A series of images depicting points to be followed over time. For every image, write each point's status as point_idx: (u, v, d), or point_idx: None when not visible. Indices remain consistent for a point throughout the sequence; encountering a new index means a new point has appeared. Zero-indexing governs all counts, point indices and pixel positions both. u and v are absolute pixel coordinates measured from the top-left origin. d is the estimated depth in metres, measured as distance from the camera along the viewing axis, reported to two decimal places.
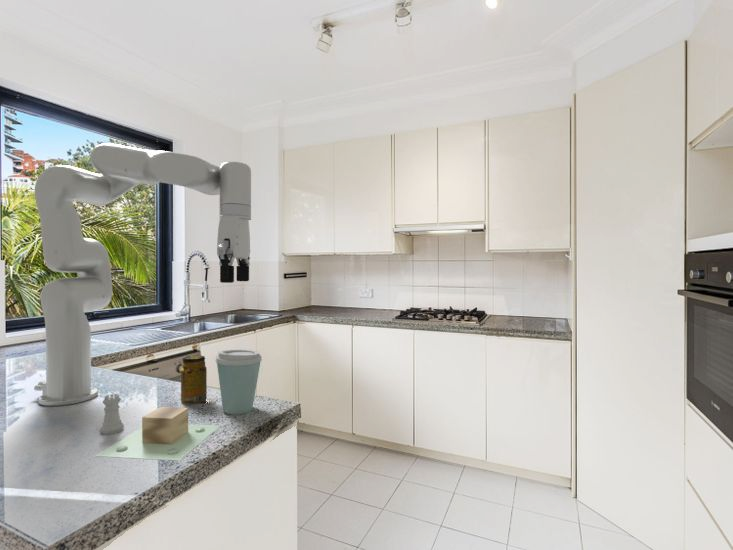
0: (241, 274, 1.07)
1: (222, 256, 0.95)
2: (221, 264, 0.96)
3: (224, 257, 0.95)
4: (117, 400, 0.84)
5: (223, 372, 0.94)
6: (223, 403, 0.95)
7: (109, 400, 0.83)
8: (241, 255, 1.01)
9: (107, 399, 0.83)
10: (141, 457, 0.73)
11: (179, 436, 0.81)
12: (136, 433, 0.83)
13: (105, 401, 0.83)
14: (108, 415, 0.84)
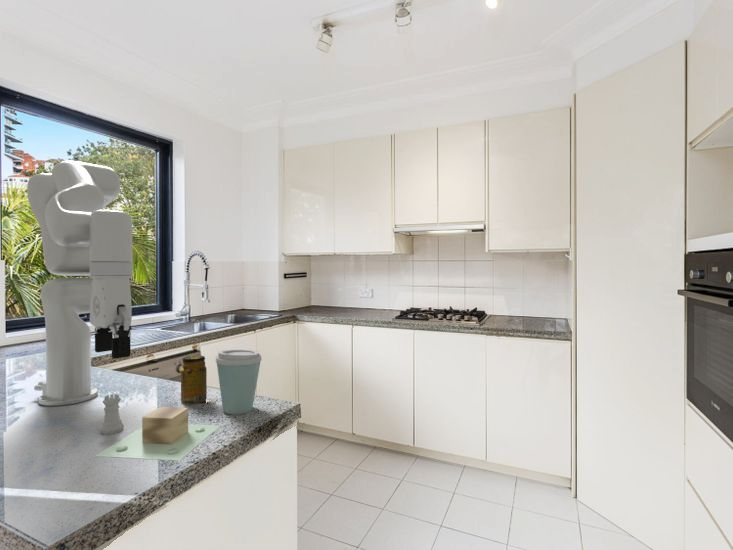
0: (103, 343, 0.87)
1: (127, 327, 0.79)
2: (119, 336, 0.80)
3: (129, 328, 0.80)
4: (117, 400, 0.84)
5: (223, 372, 0.94)
6: (223, 403, 0.95)
7: (109, 400, 0.83)
8: None
9: (107, 399, 0.83)
10: (141, 457, 0.73)
11: (179, 436, 0.81)
12: (136, 433, 0.83)
13: (105, 401, 0.83)
14: (108, 415, 0.84)
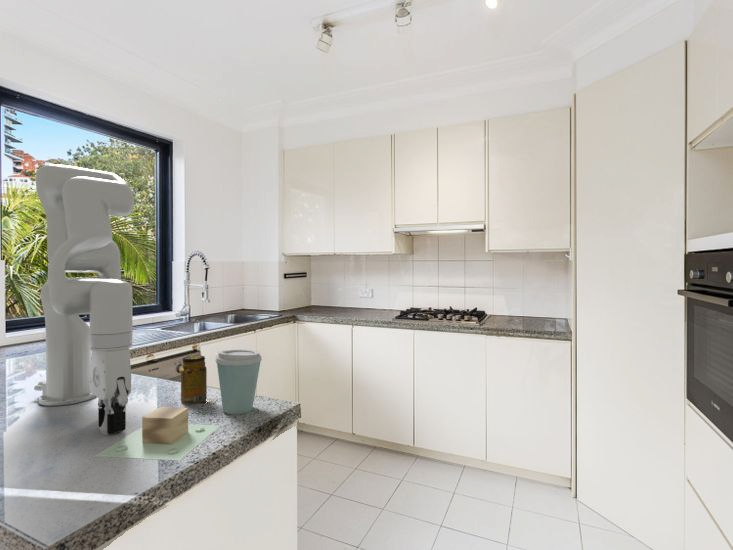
0: None
1: (122, 406, 0.81)
2: (114, 413, 0.82)
3: (124, 405, 0.82)
4: (117, 400, 0.84)
5: (223, 372, 0.94)
6: (223, 403, 0.95)
7: None
8: None
9: None
10: (141, 457, 0.73)
11: (179, 436, 0.81)
12: (136, 433, 0.83)
13: (105, 401, 0.83)
14: None
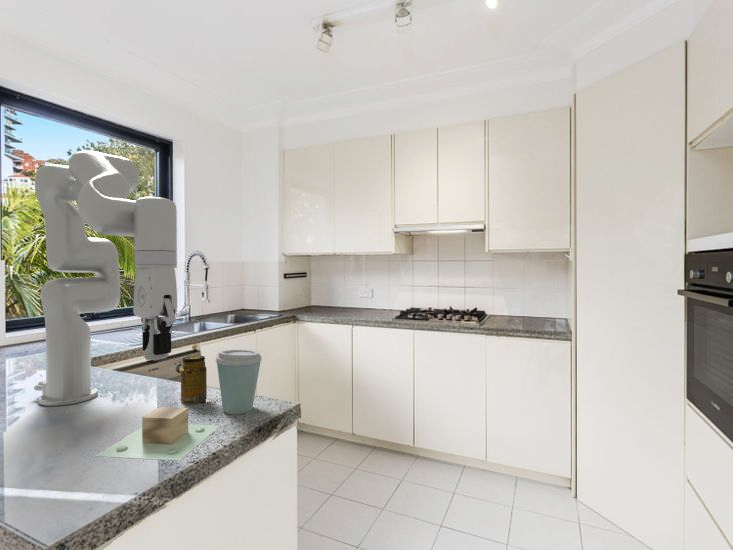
0: None
1: (169, 325, 0.78)
2: (160, 332, 0.79)
3: (171, 324, 0.79)
4: None
5: (223, 372, 0.94)
6: (223, 403, 0.95)
7: None
8: None
9: (152, 320, 0.80)
10: (141, 457, 0.73)
11: (179, 436, 0.81)
12: (136, 433, 0.83)
13: (150, 322, 0.80)
14: None
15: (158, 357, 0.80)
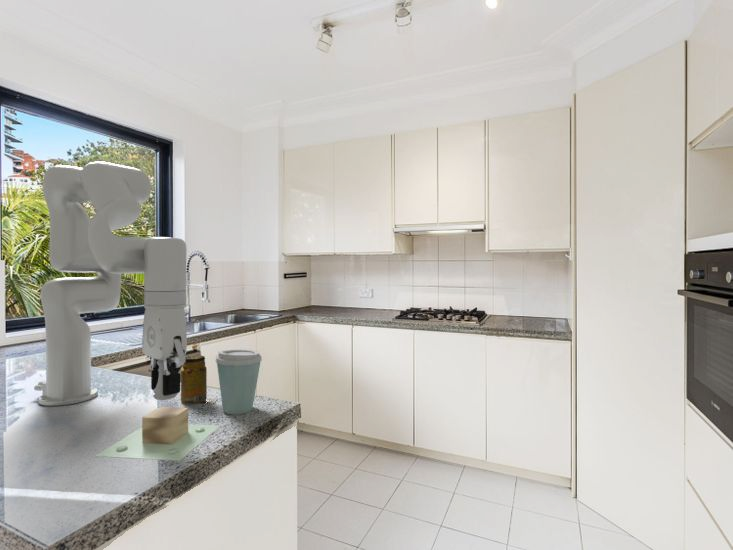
0: None
1: (179, 366, 0.78)
2: (170, 373, 0.78)
3: (180, 365, 0.78)
4: (171, 361, 0.81)
5: (223, 372, 0.94)
6: (223, 403, 0.95)
7: None
8: None
9: None
10: (141, 457, 0.73)
11: (179, 436, 0.81)
12: (136, 433, 0.83)
13: (159, 362, 0.80)
14: None
15: (167, 397, 0.80)
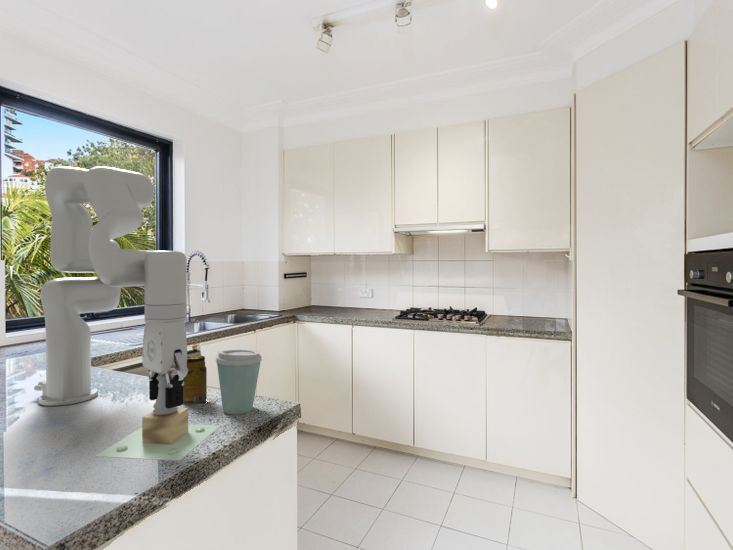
0: (158, 390, 0.83)
1: (182, 378, 0.77)
2: (173, 386, 0.78)
3: (183, 378, 0.78)
4: (171, 376, 0.81)
5: (223, 372, 0.94)
6: (223, 403, 0.95)
7: (163, 376, 0.80)
8: None
9: (161, 375, 0.80)
10: (141, 457, 0.73)
11: (179, 436, 0.81)
12: (136, 433, 0.83)
13: (159, 377, 0.80)
14: (163, 392, 0.80)
15: (167, 412, 0.80)
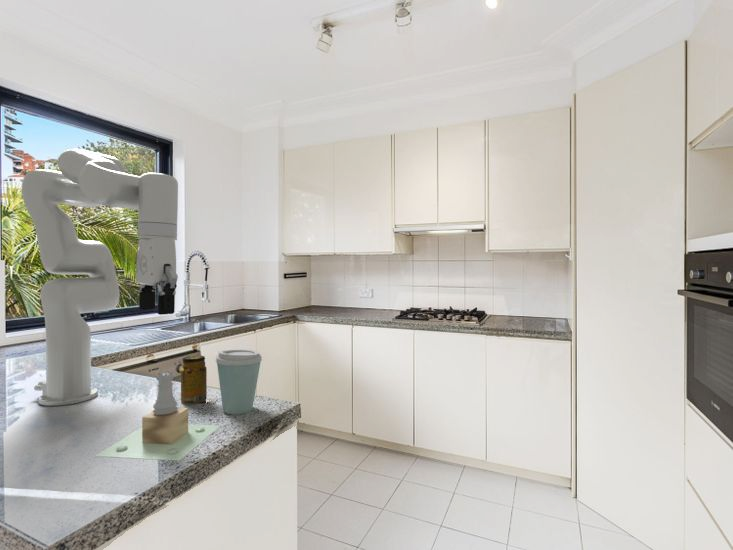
0: (147, 301, 0.91)
1: (173, 285, 0.83)
2: (165, 294, 0.84)
3: (175, 286, 0.84)
4: (171, 376, 0.81)
5: (223, 372, 0.94)
6: (223, 403, 0.95)
7: (163, 376, 0.80)
8: None
9: (161, 375, 0.80)
10: (141, 457, 0.73)
11: (179, 436, 0.81)
12: (136, 433, 0.83)
13: (159, 377, 0.80)
14: (163, 392, 0.80)
15: (167, 413, 0.80)
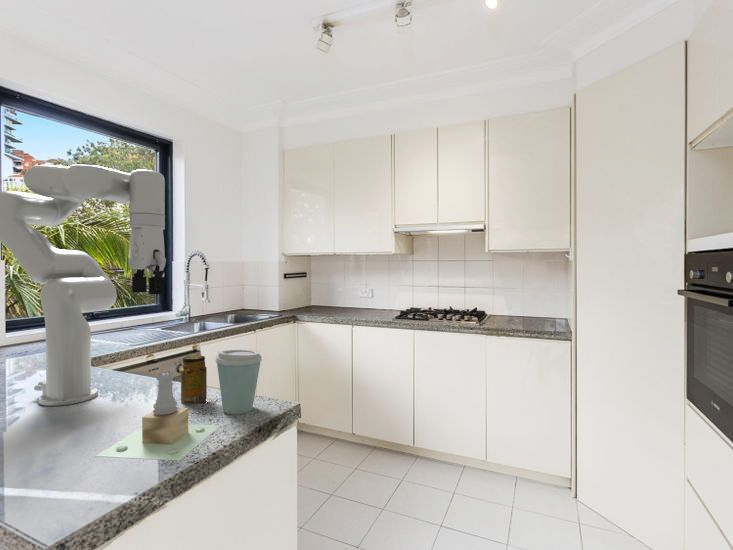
0: (139, 285, 1.02)
1: (162, 268, 0.94)
2: (155, 276, 0.95)
3: (163, 269, 0.95)
4: (171, 376, 0.81)
5: (223, 372, 0.94)
6: (223, 403, 0.95)
7: (163, 376, 0.80)
8: None
9: (161, 375, 0.80)
10: (141, 457, 0.73)
11: (179, 436, 0.81)
12: (136, 433, 0.83)
13: (159, 377, 0.80)
14: (163, 392, 0.80)
15: (167, 413, 0.80)
